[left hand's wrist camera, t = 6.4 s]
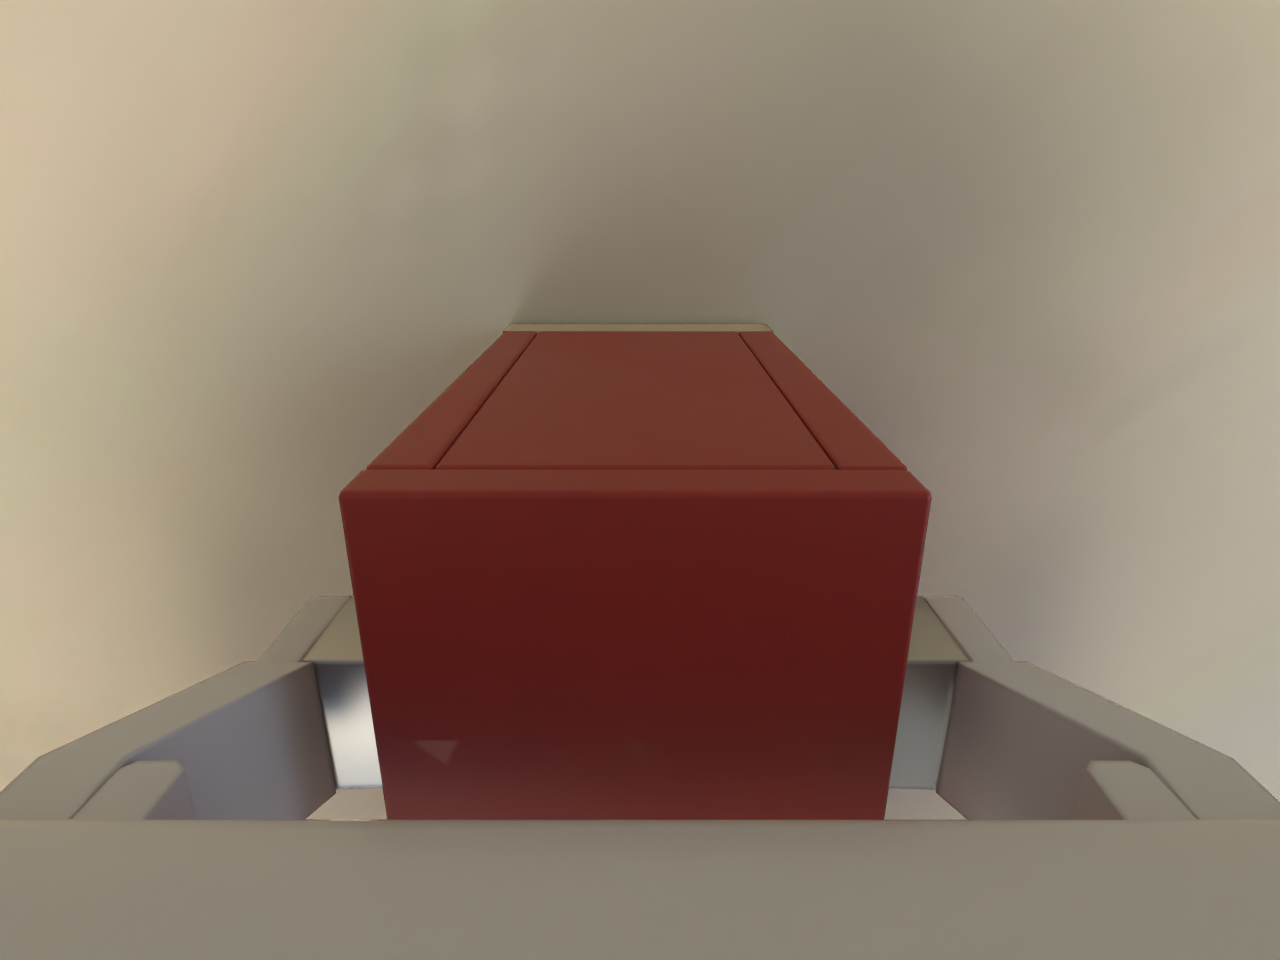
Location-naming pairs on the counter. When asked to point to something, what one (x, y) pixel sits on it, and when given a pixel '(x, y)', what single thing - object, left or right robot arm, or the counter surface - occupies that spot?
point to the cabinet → (635, 585)
